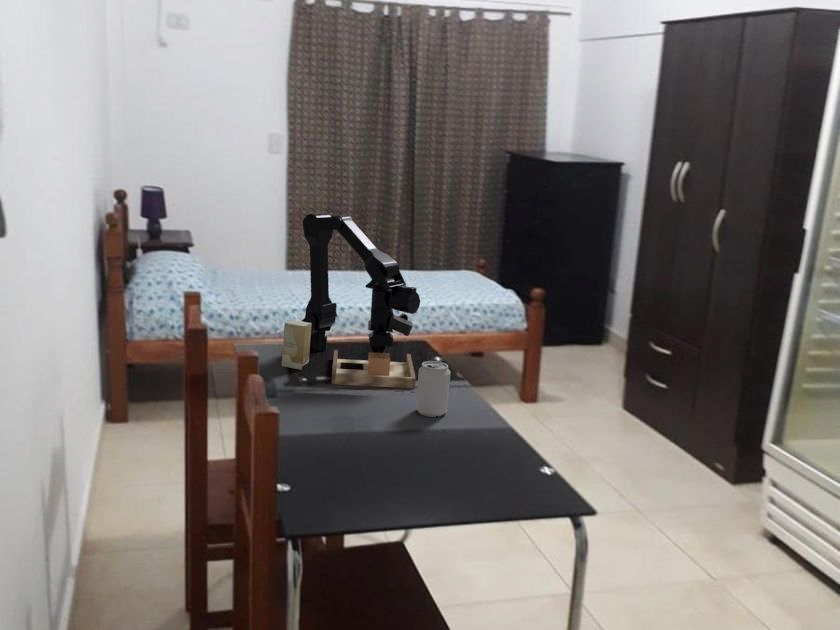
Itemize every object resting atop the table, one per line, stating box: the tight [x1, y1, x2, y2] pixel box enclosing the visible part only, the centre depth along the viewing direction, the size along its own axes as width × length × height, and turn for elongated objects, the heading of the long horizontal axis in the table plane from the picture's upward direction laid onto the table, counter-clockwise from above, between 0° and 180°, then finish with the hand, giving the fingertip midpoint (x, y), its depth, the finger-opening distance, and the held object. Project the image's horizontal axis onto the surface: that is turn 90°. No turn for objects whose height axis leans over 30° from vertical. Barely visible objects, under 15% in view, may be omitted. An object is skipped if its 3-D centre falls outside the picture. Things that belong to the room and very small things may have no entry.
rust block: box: [367, 351, 391, 376], centre depth 226 cm, size 6×6×4 cm
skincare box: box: [281, 319, 312, 371], centre depth 228 cm, size 6×4×12 cm
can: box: [415, 360, 451, 418], centre depth 201 cm, size 8×8×12 cm
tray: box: [330, 349, 417, 393], centre depth 225 cm, size 21×22×4 cm
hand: (378, 362), depth 231 cm, fingers closed
